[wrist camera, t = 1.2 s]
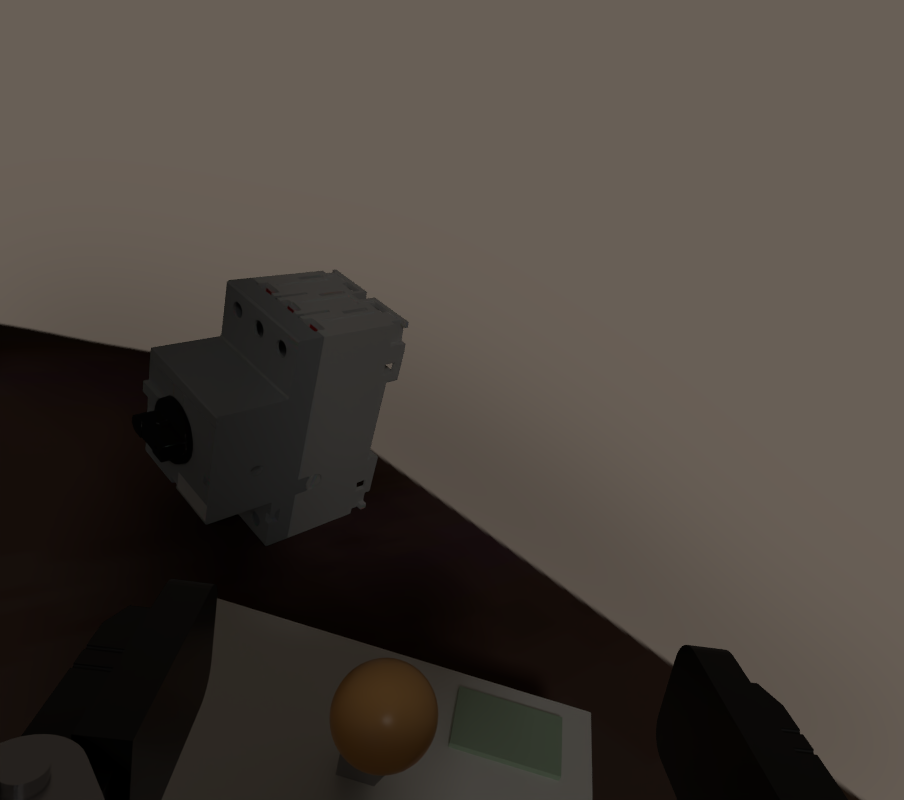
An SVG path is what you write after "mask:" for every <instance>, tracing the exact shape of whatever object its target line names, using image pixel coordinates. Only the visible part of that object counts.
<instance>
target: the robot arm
mask: <svg viewBox="0 0 904 800" xmlns="http://www.w3.org/2000/svg"><path fill="white" fill-rule="evenodd" d="M216 606H217V586H216V584H209V583H201V582H193V581H185V580H177V579H170V580H169V581H168V582H167V583H166V585H165V586H164V588H163V590H162V591H161V593H160V594H159V596H158V598H157V599H156V601H155V602H154V604H153V605H152V607H151V608H147V607H139V606H131V605H130V606H128V607H126V608H125V609H123V610H122V611H120V612H119V613H117V614H116V615H114V616H112V617H111V618H109V619H108V620H106V621H105V622H103V623H102V625H101V626H100V627H99V629H98V630H97V632H96V633H95V634H94V636H93V637H92V638H91V640H90V641H89V643H88V644H87V647H86V649H84V650H83V651H82V652H81V654H80V655H79V657H78V658H77V659H76V661H75V662H74V665H73V668H70V669H69V670H68V672H67V673H66V675H65V676H64V677H63V679H62V680H61V682H60V683H59V684H58V686H57V687H56V688H55V690H54V691H53V693H52V694H51V695H50V697H49V698H48V700H47V701H46V702H45V704H44V705H43V707H42V708H41V709H40V711H39V712H38V714H37V715H36V716H35V718H34V719H33V720H32V722H31V723H30V725H29V726H28V727H27V729H26V730H25V732H24V733H23V734H22V736H21V737H18V738H14V739H10V740H8V741H5V742H2V743H0V800H162V797H163V795H164V793H165V790H166V788H167V785H168V783H169V781H170V778H171V776H172V773H173V771H174V769H175V766H176V764H177V762H178V759H179V757H180V754H181V752H182V750H183V747H184V745H185V742H186V740H187V738H188V735H189V733H190V731H191V728H192V726H193V723H194V721H195V719H196V716H197V714H198V711H199V709H200V707H201V704H202V701H203V699H204V695H205V692H206V688H207V684H208V680H209V675H210V669H211V661H212V650H213V639H214V628H215V617H216ZM656 740H657V748H658V752H659V756H660V759H661V761H662V763H663V766H664V768H665V771H666V773H667V776H668V778H669V780H670V783H671V785H672V788H673V790H674V793H675V795H676V797H677V800H848V799H847V798H846V796H845V795H844V793H843V792H842V790H841V789H840V787H839V786H838V785H837V783H836V782H835V780H834V779H833V777H832V776H831V774H830V773H829V771H828V770H827V769H826V767H825V766H824V764H823V763H822V761H821V760H820V758H819V757H818V755H814V753H813V748H812V747H811V745H810V744H809V742H808V741H807V740H806V738H805V737H804V735H802V734H800V729H799V728H798V726H797V725H796V724H795V722H794V721H793V719H792V718H791V716H790V715H789V713H788V712H787V710H786V709H785V708H784V706H783V705H782V704H781V703H779V702H778V701H777V700H776V699H775V698H773V696H771V695H770V694H769V693H768V692H766V690H764V689H763V688H762V687H761V686H760V685H759V684H757V683H751V682H750V681H749V679H748V678H747V676H746V675H745V673H744V672H743V670H742V669H741V667H740V666H739V664H738V662H737V661H736V659H735V658H734V657H733V655H732V654H731V653H730V652H729V651H727V650H723V649H715V648H707V647H699V646H691V645H684V646H682V647H681V648H680V650H679V651H678V653H677V656H676V659H675V662H674V665H673V669H672V672H671V675H670V679H669V682H668V685H667V689H666V692H665V695H664V699H663V702H662V705H661V709H660V712H659V715H658V720H657V728H656Z"/></svg>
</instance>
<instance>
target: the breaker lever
mask: <svg viewBox="0 0 904 800" xmlns="http://www.w3.org/2000/svg"><path fill="white" fill-rule="evenodd" d="M329 722H330V730H331V735H332V738H333V741H334V743H335V746H336V747H337V749H338V751H339V753H340V755H339V760H338V765H337V770H336V775H338V776H342V777H345V778H348V779H351V780H355V781H358V782H361V783H364V784H368V785H371V786H375V785H376V784H377V783H378V782H379V781H380V780H381V779H382V778H383V777H384V776H388V775H393V774H397V773H400V772H403V771H405V770H407V769H409V768H410V767H412V766H413V765H414V764H416V763H417V762H418V761H419V760H420V759H421V758H422V757H423V756H424V754H425V753H426V752H427V750H428V749H429V747H430V746H431V743H432V741H433V739H434V737H435V734H436V730H437V725H438V704H437V699H436V696H435V693H434V690H433V688H432V686H431V684H430V683H429V681H428V680H427V678H426V677H425V676H424V675H423V674H422V673H421V672H420V671H419V670H418V669H417V668H416V667H414V666H413V665H411V664H409V663H407V662H405V661H402V660H399V659H395V658H377V659H372V660H369V661H366V662H364V663H362V664H360V665H359V666H357V667H355V668H354V669H353V670H352V671H350V672H349V673H348V674H347V675H346V676H345V678H344V679H343V680H342V682H341V683H340V684H339V686H338V688H337V690H336V692H335V694H334V697H333V699H332V703H331V707H330V718H329Z"/></svg>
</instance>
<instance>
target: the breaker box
mask: <svg viewBox="0 0 904 800" xmlns="http://www.w3.org/2000/svg"><path fill="white" fill-rule="evenodd" d="M377 658H395V659H399V660H402V661H405V662H407V663H409V664H411V665H413V666H414V667H416V668H417V669H418V670H419V671H420V672H421V673H422V674H423V675H424V676H425V677H426V678H427V680H428V681H429V683H430V684H431V686H432V688H433V690H434V693H435V696H436V699H437V704H438V725H437V730H436V734H435V737H434V739H433V741H432V743H431V746H430V747H429V749H428V750H427V752H426V753H425V754H424V756H423V757H422V758H421V759H420V760H419V761H418V762H417V763H416V764H414V765H413V766H412V767H410V768H409V769H407V770H405V771H403V772H400V773H397V774H393V775H388V776H384V777H383V778H382V779H381V780H380V781H379V782H378V783H377V784H376V785H375V786H371V785H368V784H364V783H361V782H358V781H355V780H351V779H348V778H345V777H342V776H338V775H336V770H337V765H338V760H339V755H340V753H339V751H338V749H337V747H336V746H335V743H334V741H333V738H332V735H331V730H330V722H329V718H330V707H331V703H332V699H333V697H334V694H335V692H336V690H337V688H338V686H339V684H340V683H341V682H342V680H343V679H344V678H345V676H346V675H347V674H348V673H349V672H350V671H352V670H353V669H354V668H355V667H357V666H359V665H360V664H362V663H364V662H366V661H369V660H372V659H377ZM162 800H592V754H591V712H587V711H584V710H581V709H577V708H574V707H571V706H568V705H564V704H561V703H558V702H555V701H551V700H548V699H545V698H542V697H538V696H535V695H532V694H528V693H525V692H522V691H519V690H515V689H512V688H509V687H506V686H502V685H499V684H496V683H493V682H489V681H486V680H483V679H479V678H476V677H473V676H470V675H466V674H463V673H460V672H457V671H453V670H450V669H447V668H444V667H440V666H437V665H434V664H431V663H427V662H424V661H421V660H417V659H414V658H411V657H408V656H404V655H401V654H398V653H395V652H391V651H388V650H385V649H382V648H378V647H375V646H372V645H368V644H365V643H362V642H359V641H355V640H352V639H349V638H346V637H342V636H339V635H336V634H333V633H329V632H326V631H323V630H319V629H316V628H313V627H310V626H306V625H303V624H300V623H297V622H293V621H290V620H287V619H284V618H280V617H277V616H274V615H270V614H267V613H264V612H261V611H257V610H254V609H251V608H248V607H244V606H241V605H238V604H235V603H231V602H228V601H225V600H221V599H218V598H217V606H216V617H215V628H214V639H213V650H212V661H211V669H210V675H209V680H208V684H207V688H206V692H205V695H204V699H203V701H202V704H201V707H200V709H199V711H198V714H197V716H196V719H195V721H194V723H193V726H192V728H191V731H190V733H189V735H188V738H187V740H186V742H185V745H184V747H183V750H182V752H181V754H180V757H179V759H178V762H177V764H176V766H175V769H174V771H173V773H172V776H171V778H170V781H169V783H168V785H167V788H166V790H165V793H164V795H163V797H162Z"/></svg>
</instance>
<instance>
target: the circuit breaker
mask: <svg viewBox="0 0 904 800" xmlns="http://www.w3.org/2000/svg"><path fill="white" fill-rule="evenodd" d="M366 293H367V292H366V291H365V290H363V289H362V288H361V287H359V286H358V285H356V284H355V283H354V282H352V281H351V280H349V279H348V278H347V277H345V276H344V275H343V274H341V273H340V272H339V271H337V270H333V272H332V273H325V272H323V271H317V272H307V273H297V274H288V275H277V276H267V277H256V278H247V279H237V280H229V281H228V282H227V287H226V297H225V306H224V316H223V325H222V335H221V336H220V337H213V338H207V339H202V340H195V341H189V342H183V343H177V344H171V345H165V346H159V347H153V348H151V354H150V369H149V380H145V381H143V392H144V393H145V394H146V395H147V396H148V410H147V412H145V413H141V414H136V415H133V417H132V423H133V427H134V429H135V431H136V433H137V434H138V435H139V436H140V437H142V438H143V439H144V440H145V442H146V451H147V453H148V454H149V455H150V456H151V458H152V459H153V460H154V461H155V463H156V464H157V465H158V466H159V467H160V469H161V470H162V471H163V472H164V474H165V475H166V476H167V477H168V479H169V480H170V481H171V482H172V483H173V482H175V483H176V484H177V486H176V489H177V490H178V491H179V492H180V493H181V495H182V496H183V497H184V498H185V500H186V501H187V502H188V503H189V505H190V506H191V507H192V508H193V510H194V511H195V512H196V513H197V515H198V516H199V517H200V518H201V519H202V521H203V522H204V523H205V524H206V525H207V524H210V523H213V522H216V521H219V520H222V519H225V518H228V517H231V516H234V515H237V514H239V516H240V517H241V518H242V519H243V520H244V521H245V523H246V524H247V525H248V526H249V527H250V528H251V530H252V531H253V532H254V533H255V534H256V535H257V537H258V538H259V539H260V540H261V541H262V542H263V544H264V545H265V546H268V545H271V544H273V543H276V542H278V541H281V540H283V539H286V538H289V537H291V536H294V535H296V534H299V533H301V532H304V531H306V530H309V529H312V528H314V527H317V526H319V525H322V524H324V523H327V522H329V521H332V520H334V519H337V518H340V517H342V516H345V515H347V514H350V512H351V508H354V507H356V506H357V507H358V508H359V509H363V508H365V506H366V503H365V502H364V501H363V497H364V493H365V492H367V491H369V490H370V486H371V482H372V478H373V474H374V470H375V466H376V462H377V458H378V456H377V455H376V454H374V453H373V452H372V451H371V450H370V447H371V442H372V439H373V434H374V431H375V426H376V422H377V418H378V414H379V410H380V406H381V402H382V398H383V393H384V389H385V385H386V383H387V382H391V381H395V380H397V378H398V374H399V370H400V366H401V362H402V358H403V354H404V349H405V343H404V342H402V341H401V340H402V333H403V327H404V328H407V327H408V321H406V320H405V319H404V318H402V317H401V316H399V315H398V314H397V313H395V312H394V311H393V310H391V309H390V308H388V307H387V306H385V305H384V304H383V303H381V302H380V301H379V300H377V299H376V298H368V299H366ZM379 310H380V311H381V312H380V311H379ZM390 363H393V365H392V369H389V368H388V367H387V366H386V364H390ZM363 480H364V483H363V485H362V486H359V487H356V485H357V482H360V481H363Z"/></svg>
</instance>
